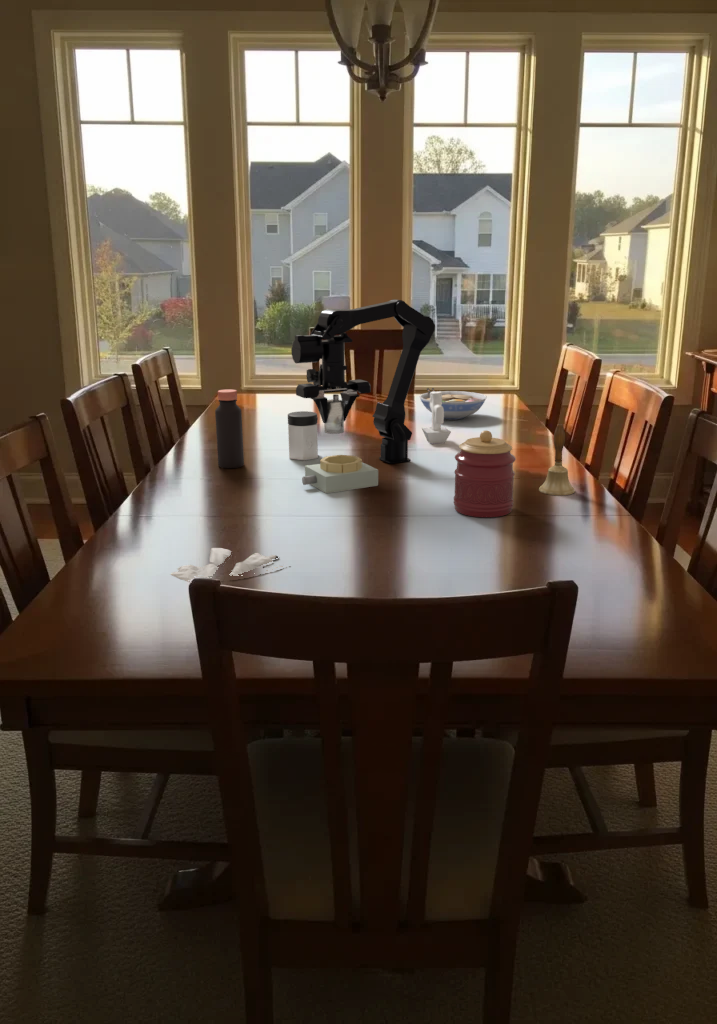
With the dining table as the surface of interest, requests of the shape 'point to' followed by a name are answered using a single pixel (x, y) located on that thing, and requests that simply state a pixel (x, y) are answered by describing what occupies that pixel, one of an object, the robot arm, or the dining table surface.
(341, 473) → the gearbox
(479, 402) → the ramen bowl
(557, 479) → the hand bell
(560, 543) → the dining table surface
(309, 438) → the jar
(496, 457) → the canister
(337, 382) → the robot arm
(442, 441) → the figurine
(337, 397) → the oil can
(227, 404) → the bottle
